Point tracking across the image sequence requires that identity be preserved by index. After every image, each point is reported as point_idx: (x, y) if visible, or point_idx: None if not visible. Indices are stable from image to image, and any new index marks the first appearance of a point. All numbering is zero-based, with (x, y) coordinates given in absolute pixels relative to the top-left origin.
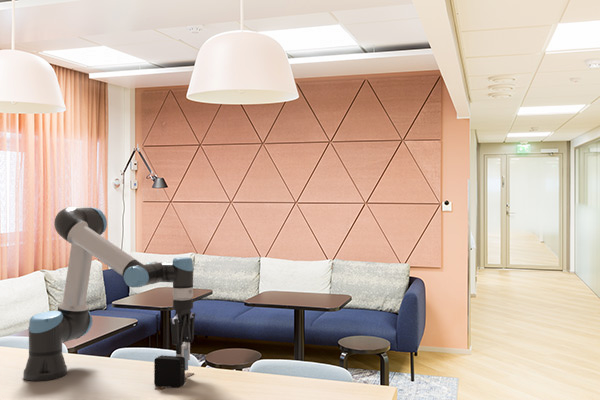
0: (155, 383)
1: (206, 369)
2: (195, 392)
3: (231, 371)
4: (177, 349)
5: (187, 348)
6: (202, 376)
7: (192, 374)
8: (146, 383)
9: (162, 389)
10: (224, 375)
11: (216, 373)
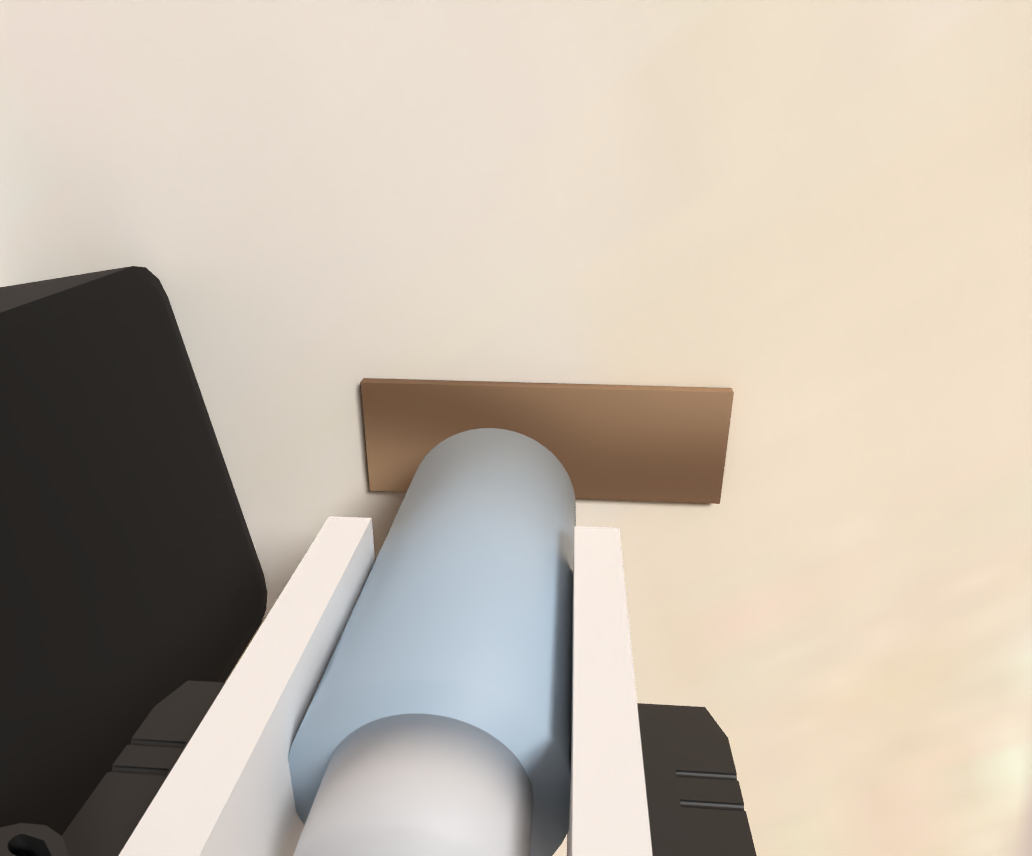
0: None
1: (1002, 541)
2: None
3: (960, 833)
4: (127, 818)
5: (567, 849)
6: (654, 636)
7: (673, 498)
8: (12, 81)
9: None
10: (774, 824)
11: (832, 725)
